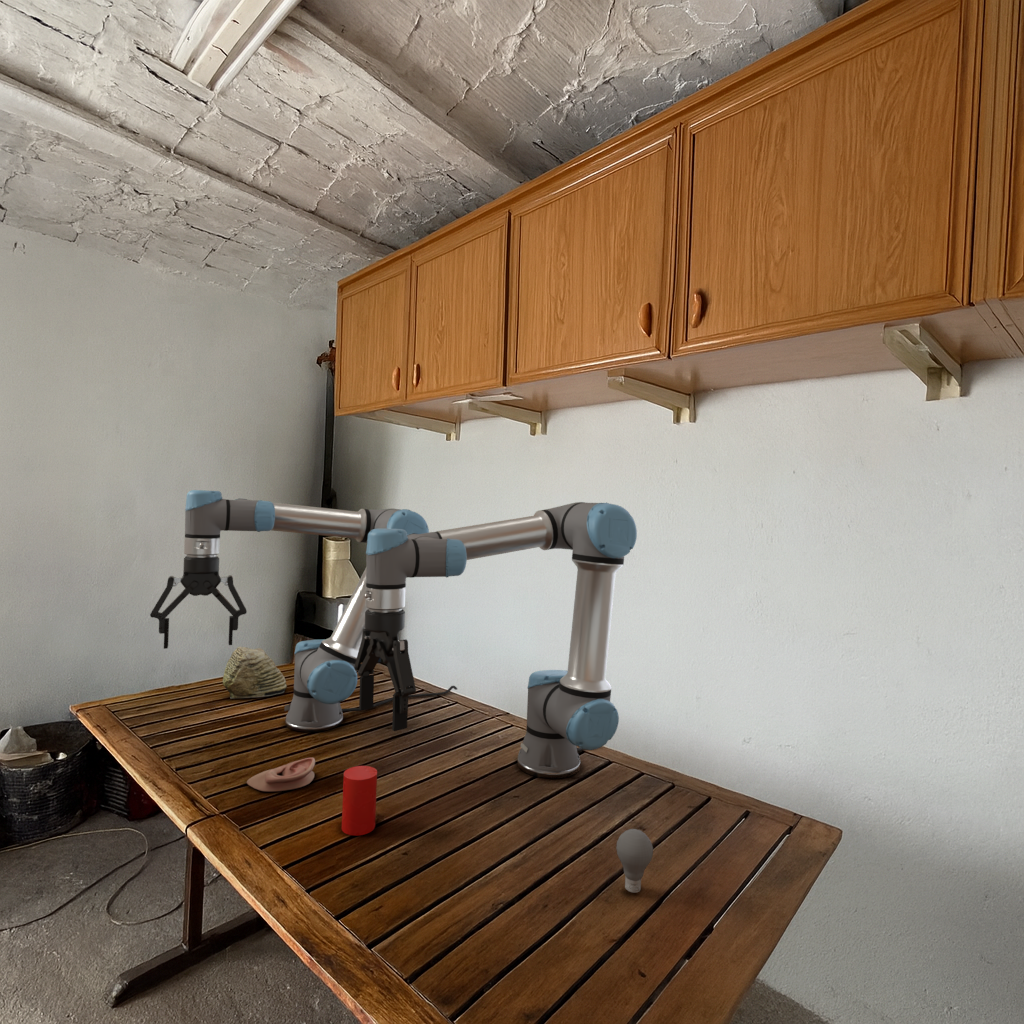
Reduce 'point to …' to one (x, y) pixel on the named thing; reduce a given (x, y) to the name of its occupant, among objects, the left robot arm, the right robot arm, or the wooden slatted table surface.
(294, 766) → the anatomical model
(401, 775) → the wooden slatted table surface
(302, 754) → the wooden slatted table surface
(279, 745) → the wooden slatted table surface
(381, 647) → the right robot arm
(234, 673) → the fossil
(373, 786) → the tin
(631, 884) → the light bulb
